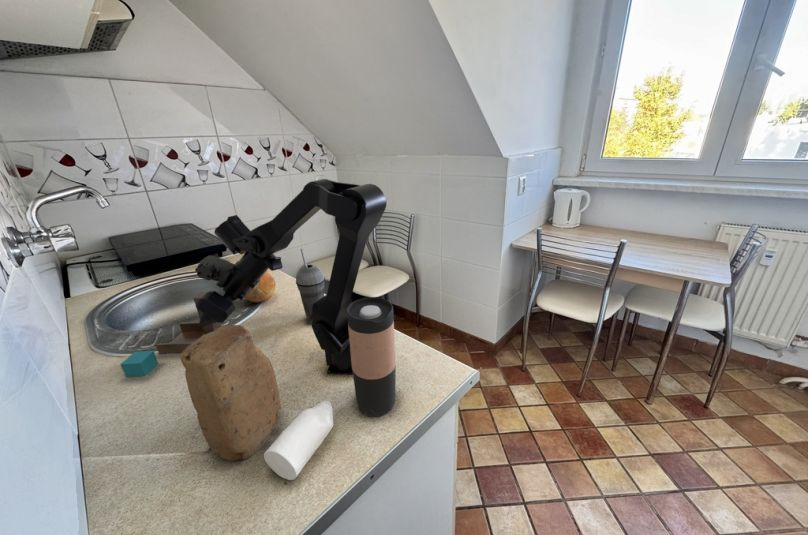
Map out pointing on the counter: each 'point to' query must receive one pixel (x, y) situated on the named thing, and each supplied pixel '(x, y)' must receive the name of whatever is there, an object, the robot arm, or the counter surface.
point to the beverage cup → (310, 286)
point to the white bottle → (300, 441)
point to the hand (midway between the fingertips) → (211, 314)
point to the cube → (139, 363)
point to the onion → (262, 289)
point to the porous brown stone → (232, 391)
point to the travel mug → (372, 354)
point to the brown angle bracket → (187, 333)
